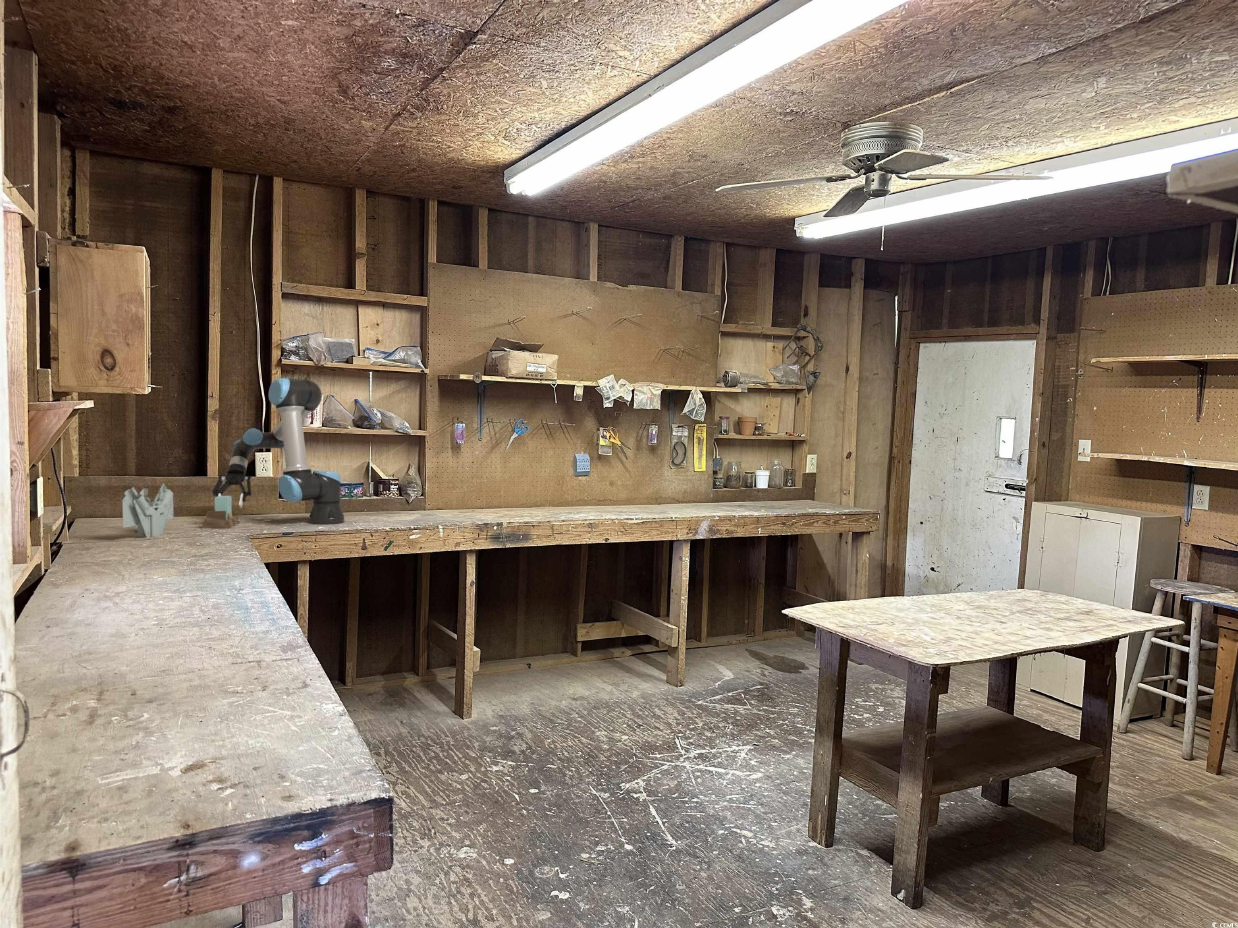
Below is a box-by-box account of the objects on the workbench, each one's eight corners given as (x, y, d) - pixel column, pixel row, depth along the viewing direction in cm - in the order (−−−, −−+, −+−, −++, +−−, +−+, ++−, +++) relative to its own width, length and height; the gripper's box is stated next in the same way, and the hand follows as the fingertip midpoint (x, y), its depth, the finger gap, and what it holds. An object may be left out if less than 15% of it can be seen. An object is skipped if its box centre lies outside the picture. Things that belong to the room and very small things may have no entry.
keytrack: (212, 523, 357) (211, 507, 357) (239, 523, 359) (238, 507, 359) (201, 528, 343) (201, 511, 342) (230, 528, 345) (230, 511, 344)
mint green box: (219, 520, 358) (219, 495, 357) (231, 520, 359) (231, 495, 358) (214, 523, 351) (214, 497, 350) (227, 522, 352) (227, 497, 351)
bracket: (132, 541, 307) (131, 488, 306) (115, 540, 308) (114, 487, 307) (181, 531, 334) (181, 482, 333) (166, 530, 335) (165, 481, 334)
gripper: (263, 473, 383) (256, 511, 369) (214, 473, 379) (204, 511, 364) (261, 463, 378) (253, 501, 363) (210, 462, 373) (201, 501, 359)
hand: (228, 506), depth 364 cm, fingers open, 9 cm apart
